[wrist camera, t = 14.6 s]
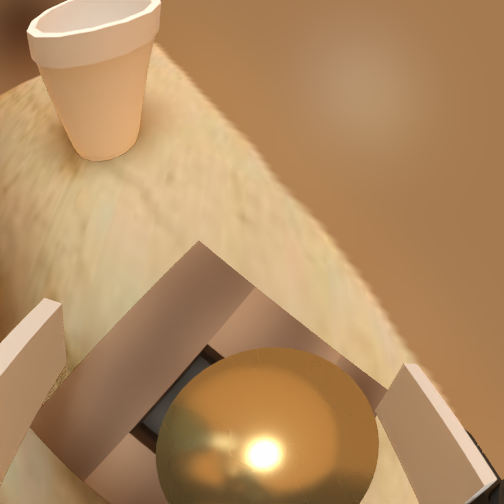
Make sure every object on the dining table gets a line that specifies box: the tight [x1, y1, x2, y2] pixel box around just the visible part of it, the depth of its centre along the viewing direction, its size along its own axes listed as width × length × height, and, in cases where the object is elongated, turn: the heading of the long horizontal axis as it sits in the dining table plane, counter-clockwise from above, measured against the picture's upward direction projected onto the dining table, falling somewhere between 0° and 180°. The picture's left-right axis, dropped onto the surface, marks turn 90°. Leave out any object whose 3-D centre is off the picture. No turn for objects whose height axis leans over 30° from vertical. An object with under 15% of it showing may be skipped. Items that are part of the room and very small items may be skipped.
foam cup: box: [27, 0, 161, 161], centre depth 19 cm, size 10×9×13 cm
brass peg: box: [156, 347, 379, 504], centre depth 10 cm, size 4×4×14 cm
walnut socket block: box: [30, 241, 388, 504], centre depth 15 cm, size 13×13×6 cm
